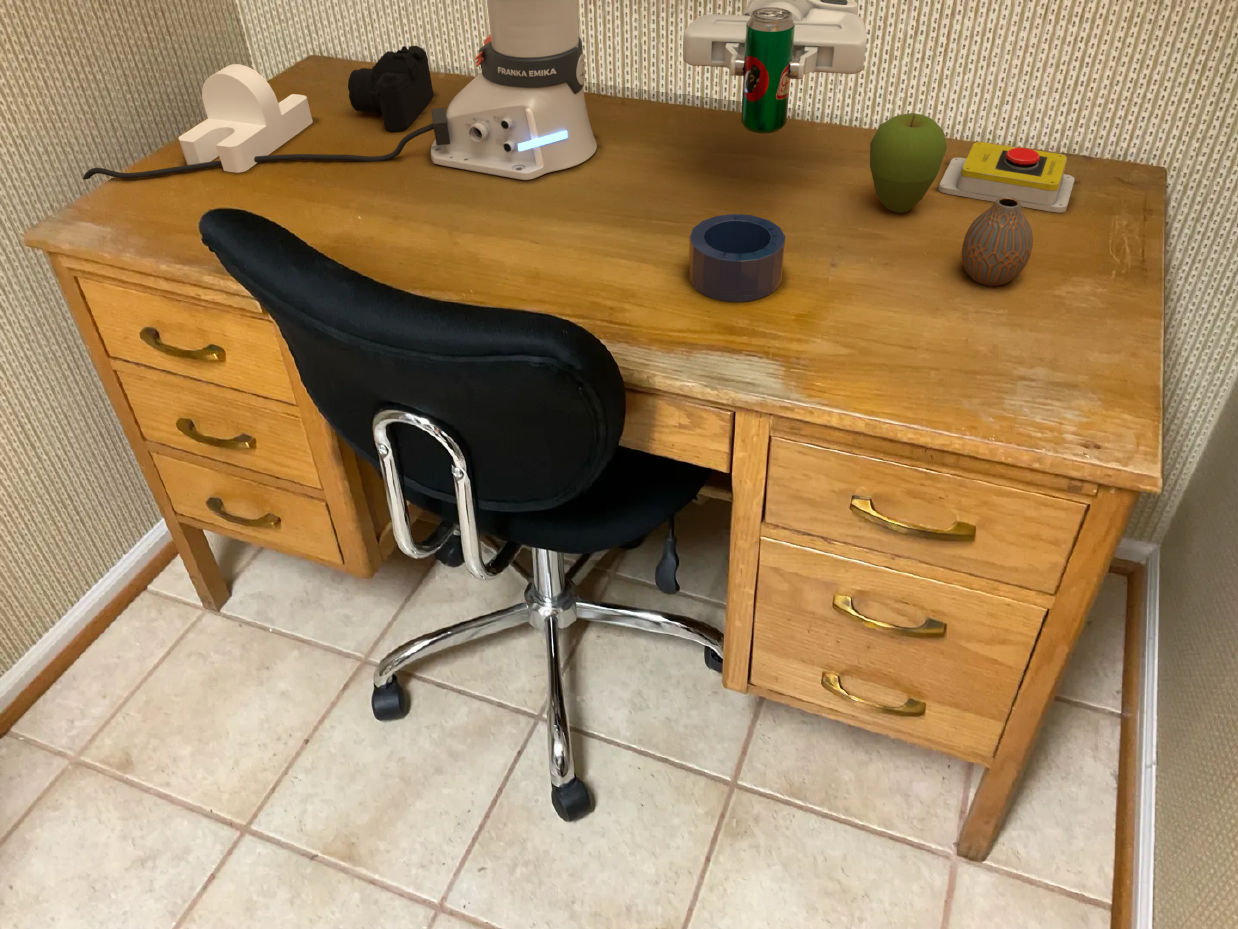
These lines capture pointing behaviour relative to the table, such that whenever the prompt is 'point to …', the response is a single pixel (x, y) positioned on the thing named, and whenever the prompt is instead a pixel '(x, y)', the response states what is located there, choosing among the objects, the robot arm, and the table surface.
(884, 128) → the apple
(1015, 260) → the vase
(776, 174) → the table surface
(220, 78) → the white slotted bracket
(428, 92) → the film camera
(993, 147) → the emergency button
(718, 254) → the socket
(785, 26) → the soda can
